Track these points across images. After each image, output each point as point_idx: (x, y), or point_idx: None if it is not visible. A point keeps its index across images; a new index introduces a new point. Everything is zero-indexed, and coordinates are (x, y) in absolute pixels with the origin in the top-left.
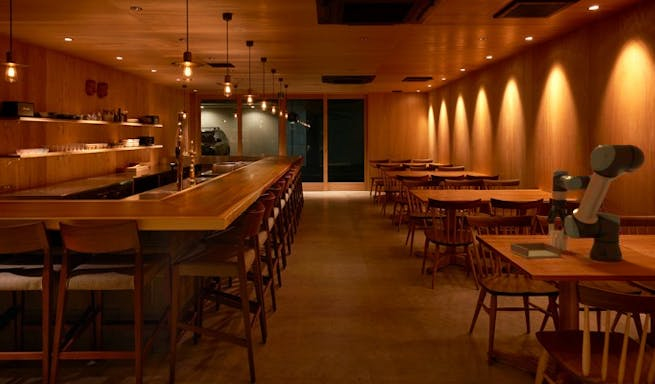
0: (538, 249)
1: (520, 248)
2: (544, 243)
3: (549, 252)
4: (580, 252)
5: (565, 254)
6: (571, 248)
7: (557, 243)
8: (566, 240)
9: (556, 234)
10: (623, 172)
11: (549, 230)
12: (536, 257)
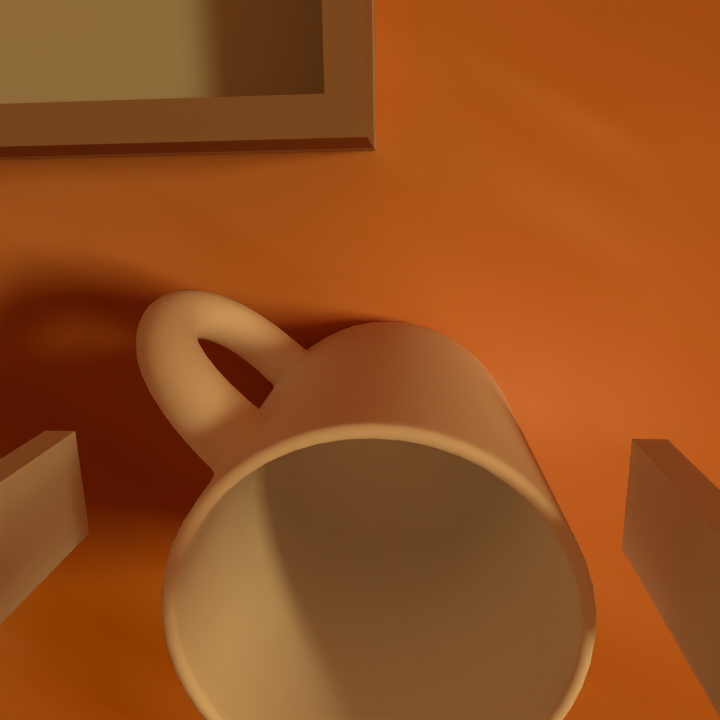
0: (311, 11)
1: None
2: (245, 96)
3: (24, 77)
4: None
5: (37, 340)
6: None
7: (270, 395)
8: (257, 588)
9: (244, 447)
10: None
11: (684, 498)
12: None
